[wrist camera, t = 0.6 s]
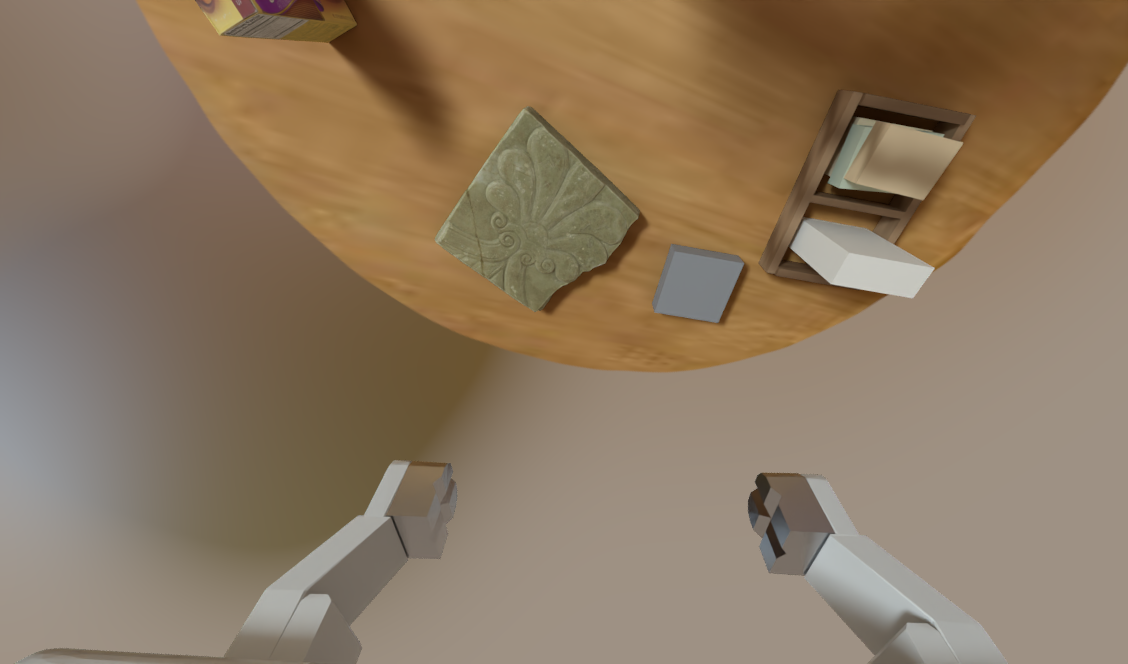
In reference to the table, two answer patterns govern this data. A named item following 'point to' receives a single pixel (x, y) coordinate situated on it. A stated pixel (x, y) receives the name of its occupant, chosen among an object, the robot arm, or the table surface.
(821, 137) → the walnut rack
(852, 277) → the tall white box
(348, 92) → the table surface
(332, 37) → the candy box
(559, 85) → the table surface
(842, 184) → the block
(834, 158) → the block
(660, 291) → the slate plinth
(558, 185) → the decorative tile
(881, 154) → the offcut top
